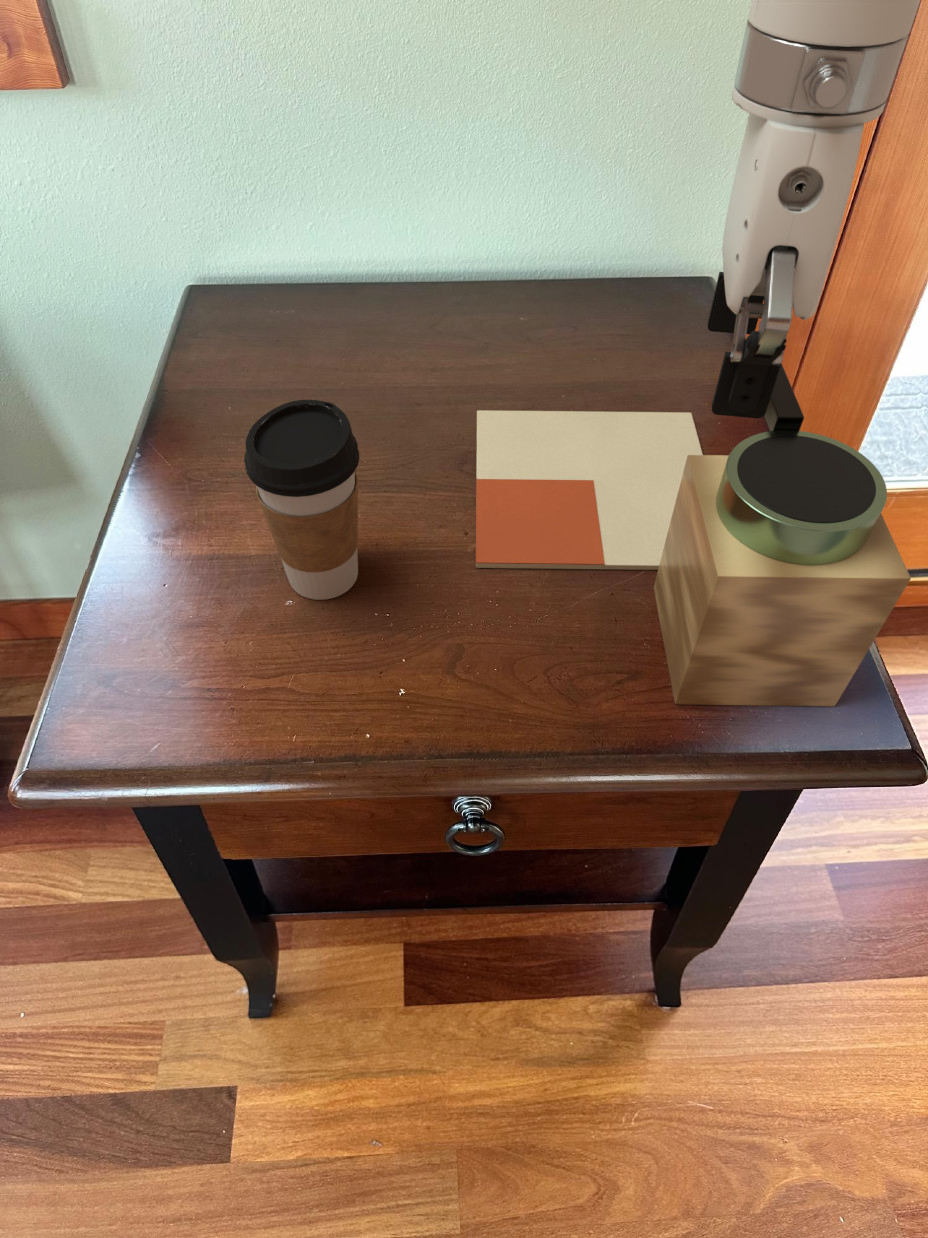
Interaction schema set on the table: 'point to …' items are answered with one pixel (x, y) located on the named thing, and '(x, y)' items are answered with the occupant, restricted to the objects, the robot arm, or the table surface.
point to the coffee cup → (308, 493)
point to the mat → (578, 487)
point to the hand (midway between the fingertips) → (733, 369)
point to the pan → (798, 490)
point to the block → (764, 608)
